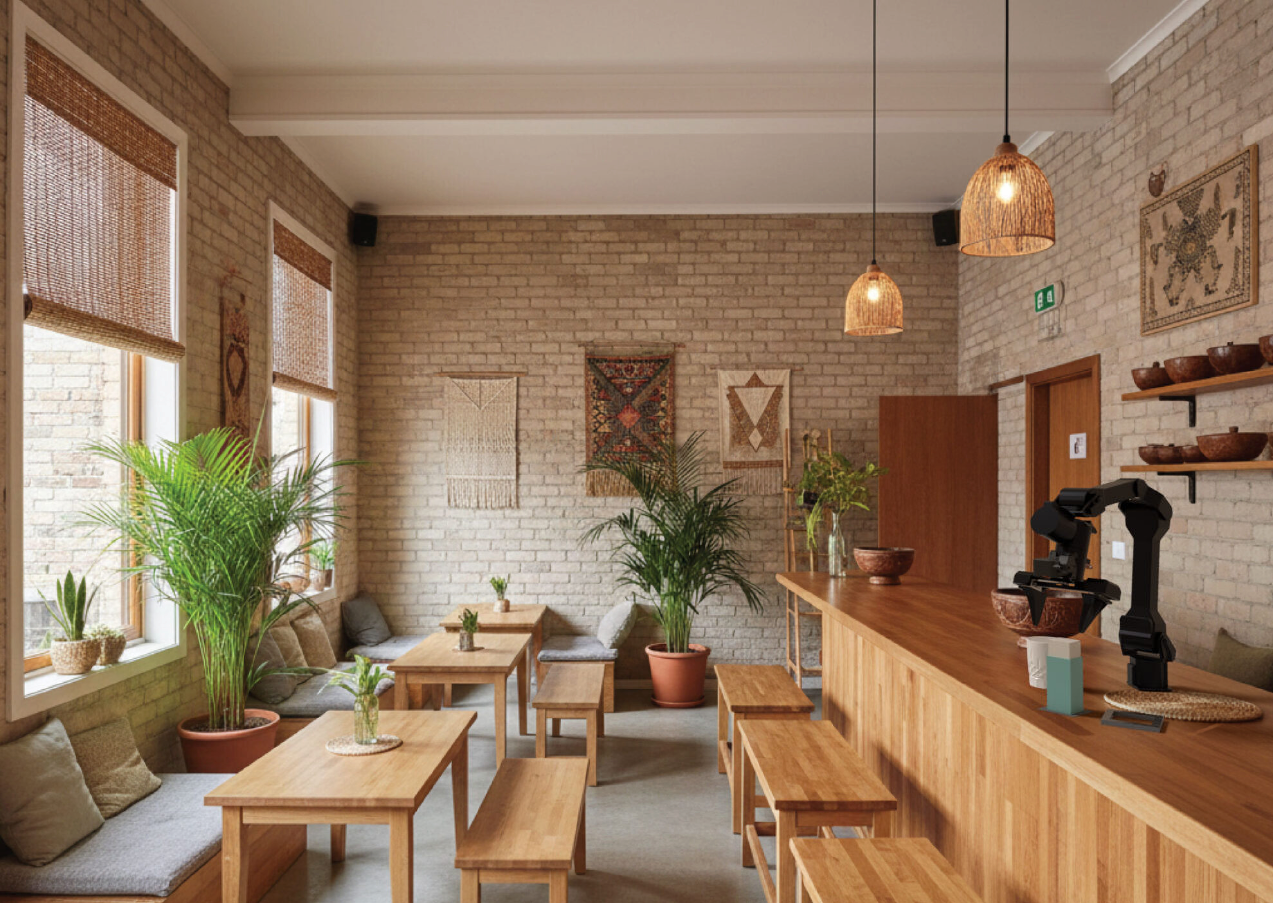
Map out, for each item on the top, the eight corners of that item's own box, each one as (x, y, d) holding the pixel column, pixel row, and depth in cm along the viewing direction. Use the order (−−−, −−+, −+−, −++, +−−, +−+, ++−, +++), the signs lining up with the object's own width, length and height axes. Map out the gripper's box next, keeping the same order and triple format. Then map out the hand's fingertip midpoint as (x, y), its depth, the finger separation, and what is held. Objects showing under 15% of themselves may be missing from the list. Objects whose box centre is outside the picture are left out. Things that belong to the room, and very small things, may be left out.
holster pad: (1056, 705, 169) (1056, 703, 169) (1093, 713, 163) (1093, 711, 163) (1037, 711, 164) (1037, 709, 164) (1074, 720, 159) (1074, 717, 159)
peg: (1059, 705, 167) (1058, 637, 167) (1083, 710, 163) (1082, 640, 164) (1047, 709, 164) (1046, 639, 165) (1070, 714, 161) (1069, 643, 161)
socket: (1099, 712, 164) (1099, 705, 164) (1174, 722, 157) (1174, 715, 157) (1089, 727, 154) (1089, 720, 154) (1169, 739, 147) (1169, 731, 147)
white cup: (1073, 693, 178) (1072, 644, 179) (1031, 691, 180) (1031, 642, 180) (1062, 684, 186) (1061, 637, 186) (1023, 682, 188) (1022, 635, 188)
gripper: (1003, 535, 173) (988, 612, 170) (1096, 541, 157) (1082, 626, 154) (1035, 550, 179) (1022, 626, 175) (1128, 558, 163) (1115, 640, 160)
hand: (1057, 629), depth 166 cm, fingers open, 9 cm apart
